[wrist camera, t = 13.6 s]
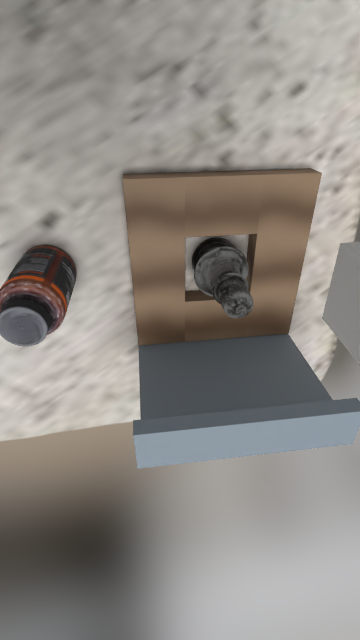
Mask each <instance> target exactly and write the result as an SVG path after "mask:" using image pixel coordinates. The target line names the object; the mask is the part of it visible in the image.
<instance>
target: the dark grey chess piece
mask: <svg viewBox="0 0 360 640" xmlns="http://www.w3.org/2000/svg"><path fill="white" fill-rule="evenodd" d="M192 265H193V269H194V278H195V282H196V285H197V286H198V288H199V289H200V290H201V291H202V292H203V293H205V294H207V295H209V296H213V297H214V299H215V300H216V301H217V302H218V303H219V304H221V306H222V308H223V310H224V312H225V313H226V314H227V315H228V316H229V317H232V318H242V317H245V316H247V315H248V314H249V313H250V312H251V310H252V308H253V298H252V296H251V294H250V293H249V291H248V287H249V286H248V282H247V280H246V278H247V275H248V268H249V267H248V262H247V260H246V258H245V256H244V255H243V254H242V253H241V252H240V251H239V250H237V249H235V247H234V246H233V245H232V244H231V243H230V242H229V241H228V240H226V239H223V238H211V239H208V240H206V241H204V242H202V243H201V244H200V245H199V246H198V247H197V248H196V250H195V252H194V254H193V258H192Z"/></svg>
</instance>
